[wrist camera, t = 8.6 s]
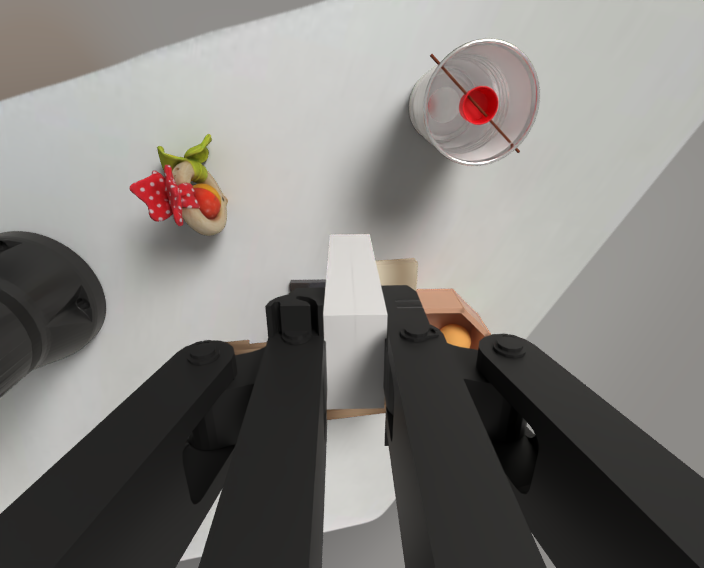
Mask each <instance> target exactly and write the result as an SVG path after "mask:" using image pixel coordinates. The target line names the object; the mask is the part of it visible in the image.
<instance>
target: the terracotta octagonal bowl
mask: <svg viewBox="0 0 704 568" xmlns="http://www.w3.org/2000/svg"><path fill="white" fill-rule="evenodd" d="M416 292H417V294H418V296H419V298H420V301H421V303H422V306H423V308H424V311H425V313H426V316H427V318H428V321H429V323H430V325H433V326H435V327H436V328H438V329H441V328H442V327H444V326H446V325H449V324H457V325H460V326H462V327H464V328H465V329H466V330H467V331H468V333H469V335H470V338H471V345H470V349H476V350H478V347H479V341H480V340H481V339H482V338H484V337H486V336H489V335H491V333H490V332H489V330H488V329H487V327H486V326H485V324H484V323H483V321H482V320H481V318H480V316H479V315H478V313H476V312H475V311H474V310H473V309H472V308H471V307H470V306H469V305H468V304H467V303H466V302H465V301H464V300H463V299H462V298H461V297H460V296H459V295H458V294H457V293H456V292H455V291H454V289H416Z"/></svg>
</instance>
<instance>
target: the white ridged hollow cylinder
mask: <svg viewBox="0 0 704 568" xmlns="http://www.w3.org/2000/svg"><path fill="white" fill-rule="evenodd" d="M430 57H431V58H432V59H433V60H434V61H435V62H436V63H437V65H436V66H434V67H433V68H432V69H431V70H429V71H428V72H427V73H425V74H424V75H423V76H422V77H421V78H420V79H419V80H418V82H417V83H416V85H415V86H414V88H413V90H412V93H411V96H410V101H409V114H410V118H411V121H412V124H413V126H414V127H415V129H416V130H417V132H418V133H419V134H420V135H421V136H423V137H424V138H425V139H426V140H427V141H428V142H430V143H431V144H432V145H434V146H435V148H436V149H437V150H438V151H439V152H440V153H441V154H442V155H444V156H445V157H446V158H448V159H450V160H451V161H453V162H456V163H459V164H462V165H467V166H481V165H487V164H490V163H494V162H496V161H498V160H500V159H502V158H504V157H506V156H507V155H509V154H510V153H511V152H513V151H514V150H516V152H517V153H519V152H520V151H519V149H518V148H517V147H518V146H519V145H520V144H521V143H522V142H523V140H524V139H525V138H526V137H527V135H528V133H529V132H530V130H531V128H532V126H533V124H534V122H535V119H536V116H537V113H538V109H539V103H540V87H539V81H538V76H537V73H536V71H535V68H534V66H533V64H532V63H531V61H530V60H529V58H528V57H527V56H526V55H525V54H524V52H522V51H521V50H520V49H519V48H518V47H516V46H515V45H513V44H511V43H509V42H506V41H503V40H499V39H492V38H485V39H478V40H473V41H470V42H468V43H465V44H463V45H461V46H459V47H458V48H456V49H455V50H453V51H452V52H451V53H449V54H448V55H447V56H446V57H445V58H444V59H443V60H442V61H441V62H439V61H438V60H437V59H436V58H435V56H434V55H433V54H431V55H430Z"/></svg>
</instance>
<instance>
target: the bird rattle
mask: <svg viewBox="0 0 704 568" xmlns="http://www.w3.org/2000/svg"><path fill="white" fill-rule="evenodd" d="M211 141H212V138H211V135H210V134H208V135H206V136H205V138H204V140H203V141H202V143H201V144H199V145H197V146H195V147H192V148H190V149H189V150H188V151H187V152H186V153H185V155H184V158H183V157H177V156H173V155H169V154H166V153H164V149H163V147H161V146H158V147H157V149H158V154H159V158H160V162H161V165H162V168H163V170H164V173H165V177H163V176H162V175H161V174H160V173H158V172H157V171H153V172H152V175H151V176H149V177H147V178H145V179H143V180H140V181H138V182H135V183H133V184H132V185H131V186H130V191H131V192H132V193H134V194H135V195H136V196H137V197H138V198H139V199H141V200H142V201H143V202H144V203H146V205H147V206H148V210H149V215H150V217H151V219H153V220H154V221H157V222H159V221H163V220H166V219H167V218H169V217H170V216H171V215H173V217H174V220H175V222H176V224H177V225H178V226H182V225H183V219H184V220H185V222H186V223H187V224H188V225H189V226H190V227H191V228H192V229H194V230H195V231H196V232H198V233H200V234H202V235H206V236H211V235H215V234H218V233H220V232H221V231H222V230H223V229H224V227H225V225H226V220H227V210H226V205H227V202H228V200H227V198H226V197H225V196H224V195H223V193H222V192H221V190H220V188H219V186H218V184H217V183H216V181H215V180H214V178H213V177H212V176H211V174H210V173H209V172H208V171H207V170H206V168H205V167H204V166H203V165H202V164H201V163H203V162H205V161H206V160H207V158H208V154H209V152H208V149H207V148H206V146H207V145H208V144H209V143H210V142H211ZM191 181H193V182H195V183H197V184H195V185H193V186H192V184H191Z"/></svg>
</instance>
